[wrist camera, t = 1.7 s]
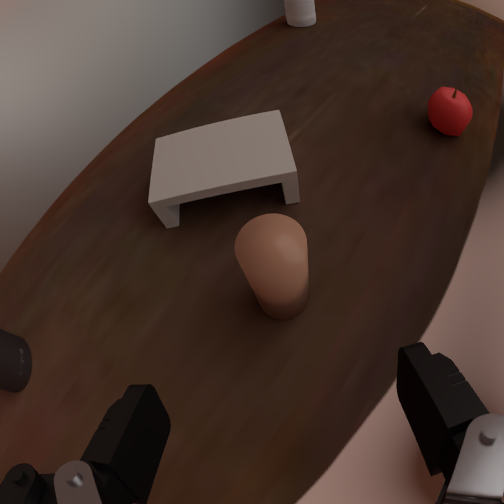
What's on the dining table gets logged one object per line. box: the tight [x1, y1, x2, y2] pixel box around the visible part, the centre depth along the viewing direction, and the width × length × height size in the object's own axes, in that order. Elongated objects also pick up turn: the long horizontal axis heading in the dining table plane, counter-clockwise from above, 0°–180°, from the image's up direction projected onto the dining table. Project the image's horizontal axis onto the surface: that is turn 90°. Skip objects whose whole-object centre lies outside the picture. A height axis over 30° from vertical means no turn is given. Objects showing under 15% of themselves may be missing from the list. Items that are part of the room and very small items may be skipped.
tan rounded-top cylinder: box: [235, 214, 309, 320], centre depth 30 cm, size 6×6×12 cm
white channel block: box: [148, 110, 300, 228], centre depth 41 cm, size 18×12×6 cm, turn 97°
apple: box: [428, 87, 473, 136], centre depth 39 cm, size 8×8×8 cm
